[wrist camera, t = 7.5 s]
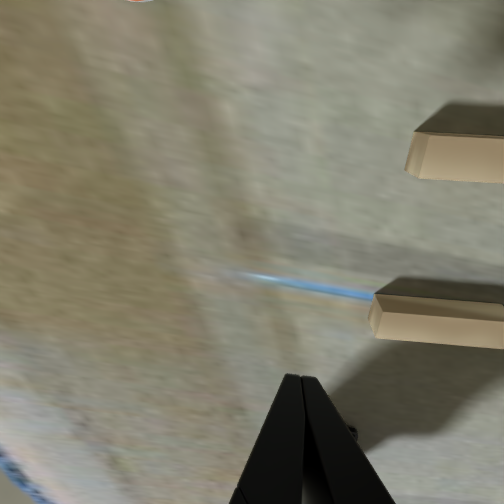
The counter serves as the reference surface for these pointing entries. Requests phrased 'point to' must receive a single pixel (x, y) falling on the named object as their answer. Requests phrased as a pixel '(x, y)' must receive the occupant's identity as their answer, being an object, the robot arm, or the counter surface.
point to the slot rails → (441, 310)
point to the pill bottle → (139, 0)
